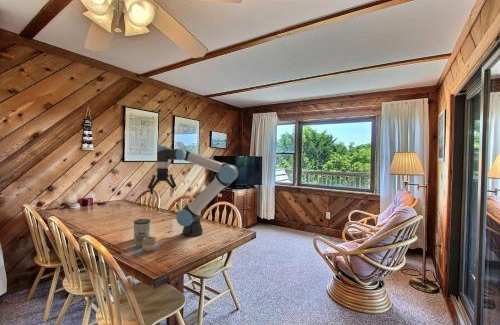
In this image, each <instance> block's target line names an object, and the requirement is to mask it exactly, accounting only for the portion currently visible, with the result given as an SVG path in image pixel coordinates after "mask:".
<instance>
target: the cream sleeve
mask: <svg viewBox="0 0 500 325" xmlns="http://www.w3.org/2000/svg"><path fill="white" fill-rule="evenodd" d="M156 240H157V238H156V237H155V236H151V235H150V236H149V237H145V238H143V253H144V254H146V255H149V254H150V255H151V254H154V253H156V252H155V251H156V245H157V241H156Z"/></svg>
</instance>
